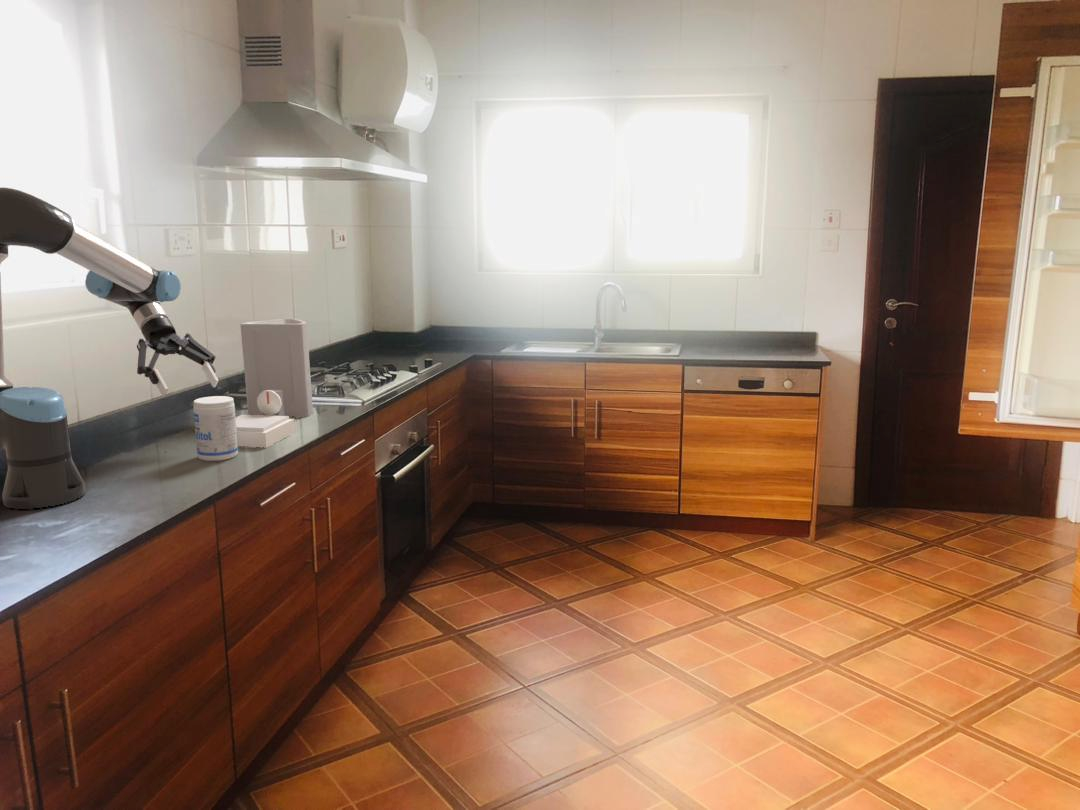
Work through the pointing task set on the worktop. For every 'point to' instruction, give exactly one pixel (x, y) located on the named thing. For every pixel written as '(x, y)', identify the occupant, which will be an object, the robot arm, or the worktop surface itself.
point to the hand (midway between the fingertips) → (191, 388)
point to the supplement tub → (215, 428)
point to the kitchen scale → (265, 422)
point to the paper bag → (277, 364)
